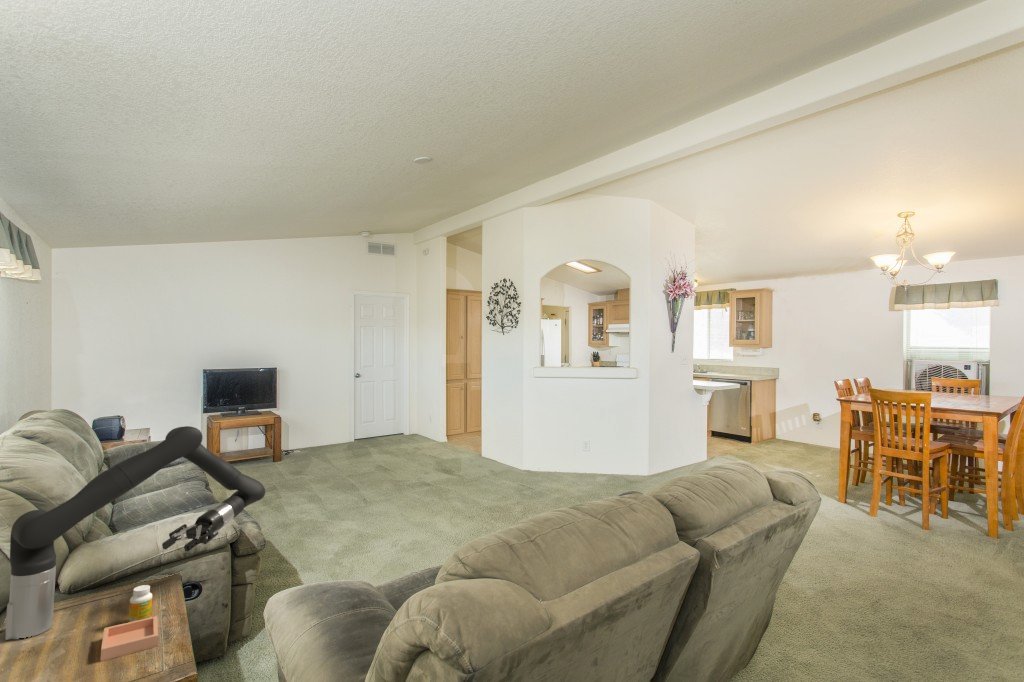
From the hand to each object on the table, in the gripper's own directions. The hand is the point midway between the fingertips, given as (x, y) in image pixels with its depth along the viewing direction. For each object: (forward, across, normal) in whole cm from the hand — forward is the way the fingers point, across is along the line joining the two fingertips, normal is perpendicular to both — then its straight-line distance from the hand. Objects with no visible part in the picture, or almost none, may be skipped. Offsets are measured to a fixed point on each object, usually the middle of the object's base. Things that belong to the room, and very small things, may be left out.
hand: (174, 548), depth 155 cm
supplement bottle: (+13, -3, +16) cm, 21 cm away
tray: (+22, +5, +14) cm, 26 cm away
